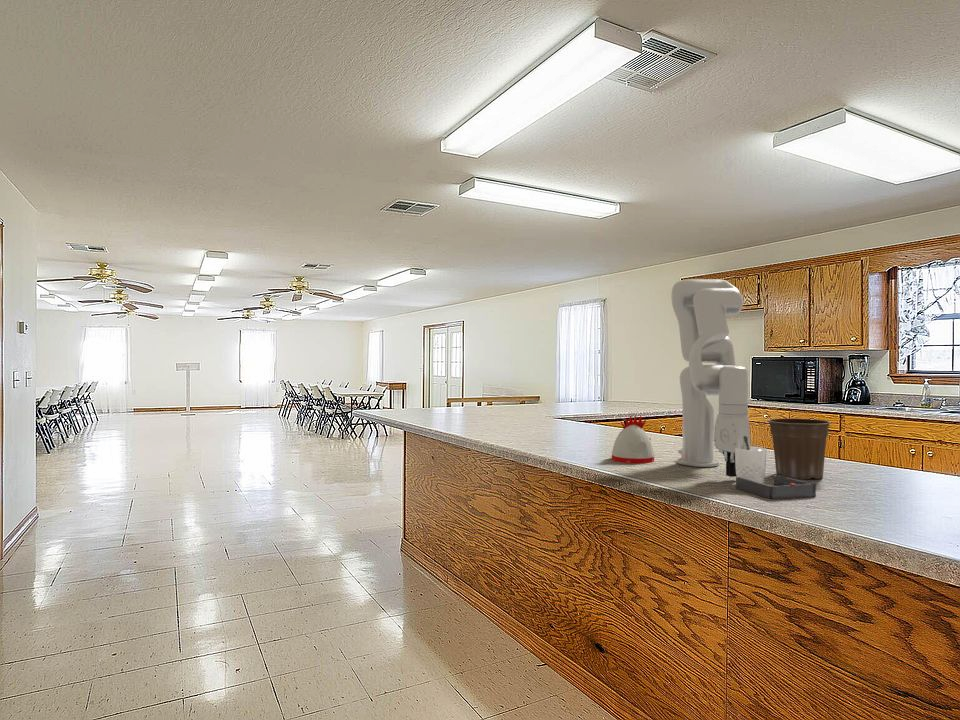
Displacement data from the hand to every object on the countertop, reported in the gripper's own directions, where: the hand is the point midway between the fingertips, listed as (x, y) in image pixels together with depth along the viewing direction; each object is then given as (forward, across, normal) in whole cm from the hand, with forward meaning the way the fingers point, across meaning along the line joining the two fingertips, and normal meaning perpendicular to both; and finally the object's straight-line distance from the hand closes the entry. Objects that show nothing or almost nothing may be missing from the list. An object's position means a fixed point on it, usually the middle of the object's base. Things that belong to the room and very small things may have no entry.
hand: (732, 475), depth 173 cm
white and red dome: (+2, -38, -9) cm, 40 cm away
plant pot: (+2, 0, +23) cm, 23 cm away
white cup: (+1, +7, 0) cm, 7 cm away
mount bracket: (+1, +16, 0) cm, 16 cm away
